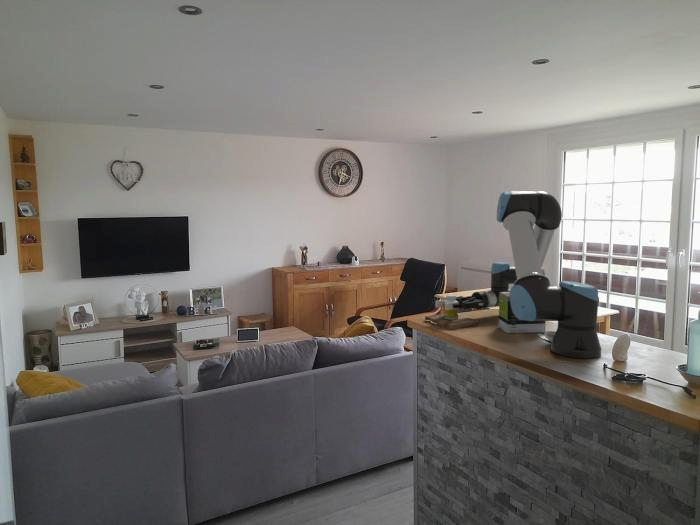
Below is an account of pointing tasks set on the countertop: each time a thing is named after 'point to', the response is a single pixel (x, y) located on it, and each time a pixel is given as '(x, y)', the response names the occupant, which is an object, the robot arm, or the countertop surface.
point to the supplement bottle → (450, 313)
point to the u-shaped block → (452, 322)
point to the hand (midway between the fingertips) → (441, 305)
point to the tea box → (510, 321)
